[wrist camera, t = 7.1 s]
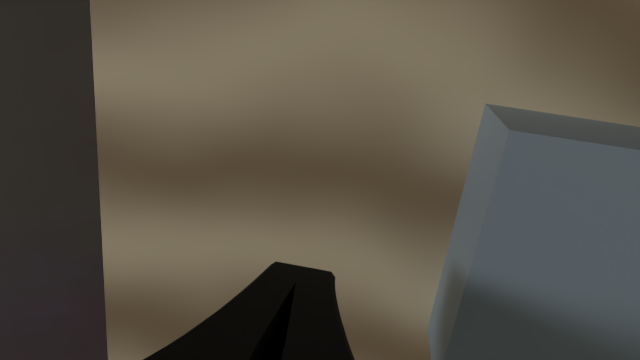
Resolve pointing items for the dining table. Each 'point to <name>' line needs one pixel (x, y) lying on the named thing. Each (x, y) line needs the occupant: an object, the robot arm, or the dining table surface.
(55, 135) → the dining table surface
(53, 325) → the dining table surface
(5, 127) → the dining table surface
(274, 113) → the board
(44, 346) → the dining table surface
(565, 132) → the bevelled grey block
